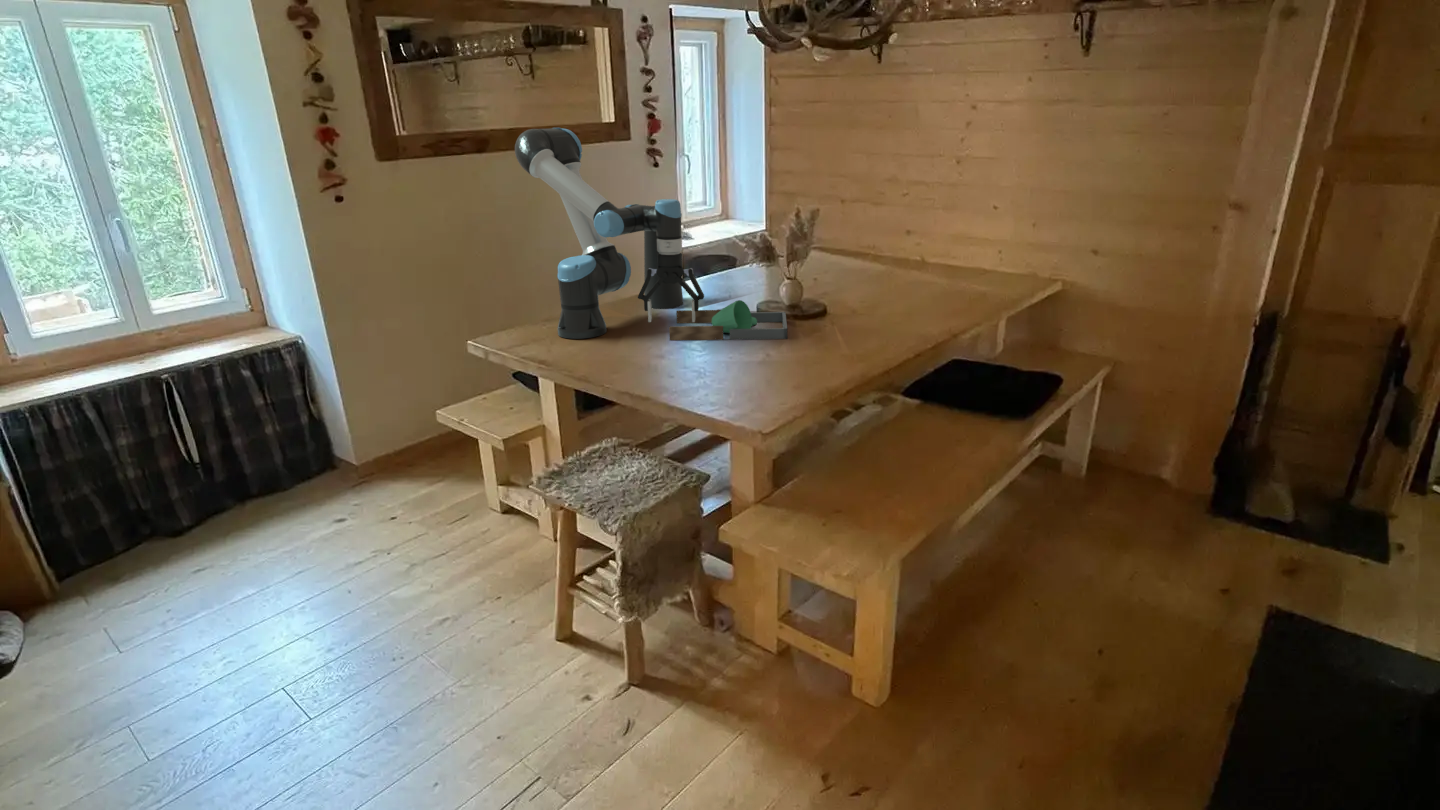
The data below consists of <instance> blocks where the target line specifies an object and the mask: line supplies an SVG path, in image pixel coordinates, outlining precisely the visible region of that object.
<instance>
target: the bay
mask: <svg viewBox="0 0 1440 810" xmlns="http://www.w3.org/2000/svg"><path fill="white" fill-rule="evenodd" d="M721 310H722V309H698V311H695V322H692V309H691V310H676V311H675V313H676V324H712V318H713V316H714V315H716V314H717V313H718V312H719V311H721ZM668 334H669V341H713V340H715V341H719V340H720V341H724V332H723V326H712V325H685V326H684V325H683V326H682V325H679V326H677V325H676V326H675V325H674V326H669V327H668Z"/></svg>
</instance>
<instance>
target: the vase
mask: <svg viewBox="0 0 1440 810" xmlns="http://www.w3.org/2000/svg"><path fill="white" fill-rule="evenodd" d="M643 232H644V236H643V238H644V240H643V243H644V244H643V245H644V247H643V249H644V251H643V252H644V253H643V254H644V256H643V259H644V260H643V261H644V262H643V263H644V266H643V267H644V268H643V269H644V270H643V271H644V278H643V280H644V282H645V280H646V278H647V271H648V269H649V268H652V269H657V268H658V260H657V254H658V253H659V252H658V251H657V234H656V232H654V231H643ZM659 279H660V278H659V276H658V275H657V273H655V274H654V276H652V277H651V279H650V281H649V284H648V286H647V288H646V290H645V292H644V295H645V296H646V295H647V293H648V292H649V291H650V290H651V289H652V287H653V286H654V285H655V284H656V282H657V281H658V280H659ZM649 300H651V309H652V308H653V310H669V309H675V308H679V307H682V306H683V305H684V297H683V287H682V286H681V285H680V284H679V283H678V282H677V283H676V284H672V283H669V284H665V283H664V282H662V283H661V284H660V285H659V287H658V288H657V289H656V290H655V292H654V293H653V294H652V295H651V296H650V298H649Z"/></svg>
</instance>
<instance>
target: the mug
mask: <svg viewBox="0 0 1440 810" xmlns="http://www.w3.org/2000/svg"><path fill="white" fill-rule="evenodd" d="M720 310H721V311H719V312H718V313H717V314H716V315H714V316H713V318H712V323H711V326H723V333H726V334H727V333H728V334H730V329H752V328H754V327H755V326H757V324H758V322H757V319H756V318H754V317H752V316H751V309H750V308H749V306H748V304H747V303H746V302H744V301H743V300H740V299H739V300H736V301H734V302H732V303H730V304H728V305H727V306H725V307H724V308H722V309H720Z"/></svg>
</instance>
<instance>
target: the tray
mask: <svg viewBox="0 0 1440 810" xmlns="http://www.w3.org/2000/svg"><path fill="white" fill-rule="evenodd" d="M750 312H751V311H750ZM751 316H752V317H754V318H756V319H757V323H782V327H779V328H778V327H774V328H773V327H771V328H770V327H769V328H762V327H761V328H751V329H730V333H729V340H731V341H732V340H787V339H788V324H787V315H786V311H762V312H761V311H759V312H756V311H755V312H753V311H752V312H751Z"/></svg>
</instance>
